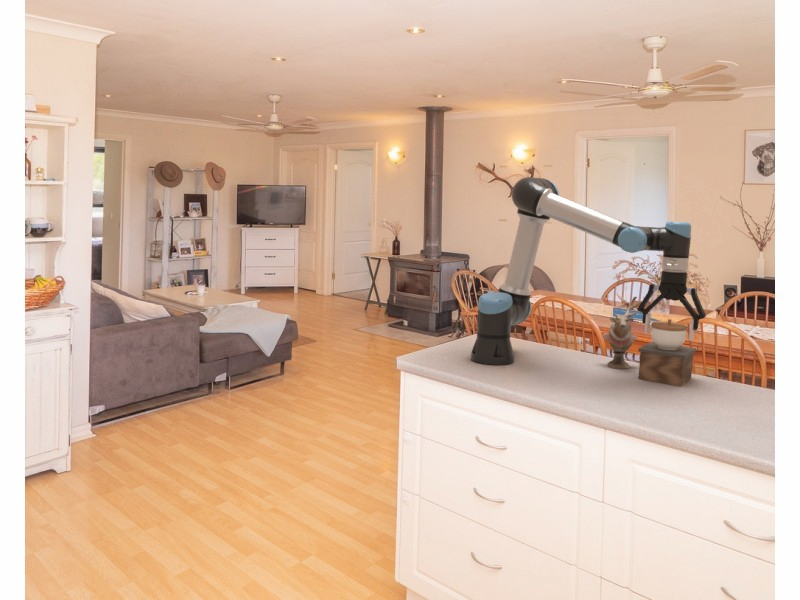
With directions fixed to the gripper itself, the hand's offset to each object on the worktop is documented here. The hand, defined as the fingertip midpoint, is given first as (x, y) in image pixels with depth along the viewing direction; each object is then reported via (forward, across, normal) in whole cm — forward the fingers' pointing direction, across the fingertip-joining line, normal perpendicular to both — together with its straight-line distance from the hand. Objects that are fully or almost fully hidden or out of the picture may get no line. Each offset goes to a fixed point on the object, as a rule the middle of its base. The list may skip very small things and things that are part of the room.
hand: (668, 336), depth 204 cm
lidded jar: (+4, 0, 0) cm, 4 cm away
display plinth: (+14, 0, 0) cm, 14 cm away
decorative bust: (+14, -17, +4) cm, 22 cm away
